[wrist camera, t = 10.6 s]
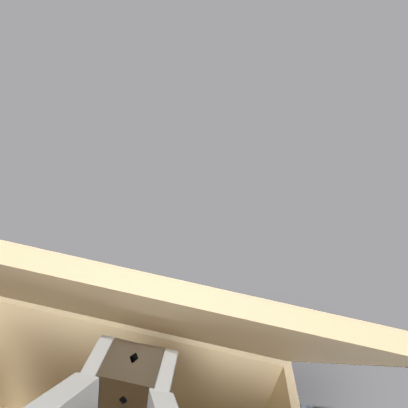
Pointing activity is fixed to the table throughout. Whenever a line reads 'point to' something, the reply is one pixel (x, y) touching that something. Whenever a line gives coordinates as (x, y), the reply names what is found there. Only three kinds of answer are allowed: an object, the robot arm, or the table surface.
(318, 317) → the carton flap
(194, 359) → the carton
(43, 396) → the robot arm
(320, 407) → the table surface
